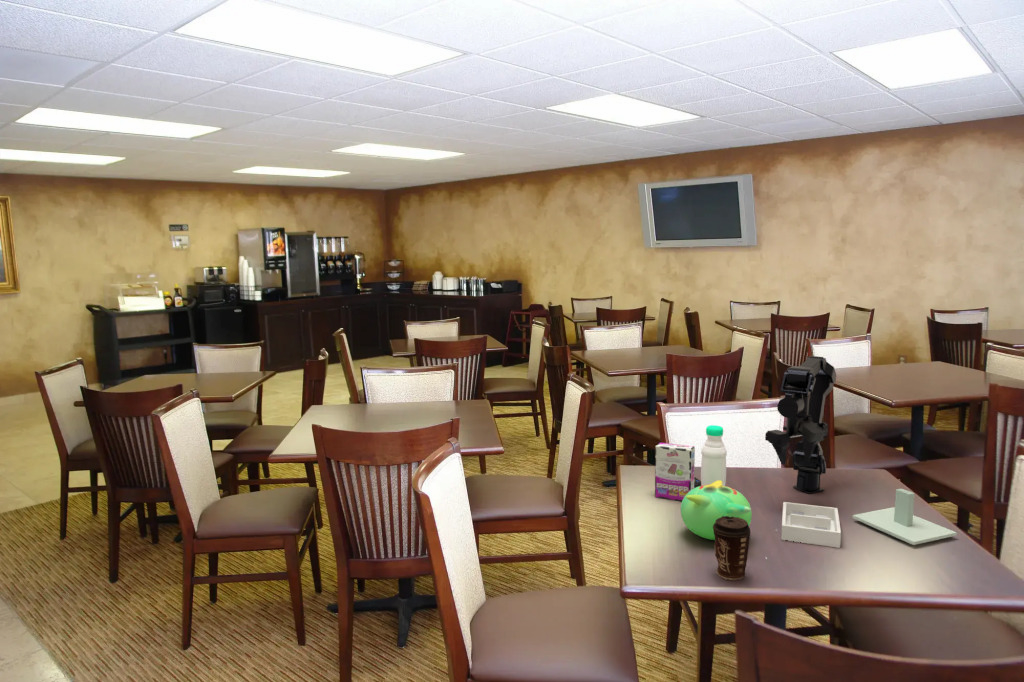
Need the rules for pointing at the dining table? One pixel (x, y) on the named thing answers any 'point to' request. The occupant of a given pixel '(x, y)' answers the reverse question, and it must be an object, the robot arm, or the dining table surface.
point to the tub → (811, 524)
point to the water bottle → (713, 457)
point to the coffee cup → (731, 546)
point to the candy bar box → (674, 470)
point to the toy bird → (712, 507)
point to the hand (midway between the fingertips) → (795, 462)
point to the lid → (904, 521)
